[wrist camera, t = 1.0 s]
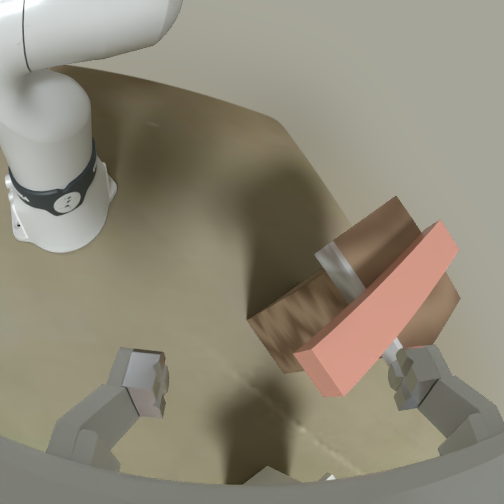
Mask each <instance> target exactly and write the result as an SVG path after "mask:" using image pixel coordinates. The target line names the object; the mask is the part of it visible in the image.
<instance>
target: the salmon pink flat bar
mask: <svg viewBox="0 0 504 504" xmlns="http://www.w3.org/2000/svg"><path fill="white" fill-rule="evenodd" d="M458 250H459V249H458V247H457V246H456V244H455V243H454V241H453V239H452V238H451V236H450V234H449V233H448V231H447V230H446V228H445V226H444V225H443V223H442V221H441V220H439V221H437V222H436V223H434V224H432V225H431V226H429V227H428V228H426V229H425V230H424V231H423V232H422V233H421V234H420V235H419V236H418V237H417V238H416V239H415V240H414V241H413V243H412V244H411V245H410V246H409V247H408V248H407V249H406V250H405V251H404V252H403V253H402V254H401V255H400V256H399V257H398V258H397V259H396V260H395V261H394V262H393V263H392V264H391V265H390V266H389V267H388V268H387V269H386V270H385V271H384V272H383V273H382V274H381V275H380V276H379V277H378V278H377V279H376V280H375V281H374V282H373V283H372V284H371V285H370V286H369V287H368V288H367V289H365V290H364V291H363V292H362V293H361V294H360V295H359V296H358V297H357V298H356V299H355V300H354V301H353V302H352V303H351V304H349V305H348V306H347V307H346V308H345V309H344V310H343V311H342V312H341V313H340V314H338V315H337V316H336V317H335V318H334V319H333V320H332V321H331V322H330V323H328V324H327V325H326V326H325V327H324V328H323V329H322V330H320V331H319V332H318V333H317V334H316V335H315V336H313V337H312V338H311V339H310V340H309V341H308V342H306V343H305V344H304V345H303V346H302V347H300V348H299V349H298V350H297V351H296V352H294V353H293V355H294V356H295V357H296V359H297V360H298V362H299V363H300V365H301V366H302V367H303V369H304V370H305V372H306V373H307V374H308V376H309V377H310V379H311V380H312V381H313V383H314V384H315V386H316V387H317V389H318V390H319V391H320V393H321V394H322V396H323V397H337V396H345V395H346V394H347V393H348V391H349V390H350V389H351V388H352V387H353V386H354V385H355V384H356V383H357V382H358V381H359V380H360V379H361V378H362V377H363V375H364V374H365V373H366V372H367V371H368V370H369V369H370V368H371V367H372V365H373V364H374V363H375V362H376V361H377V360H378V359H379V357H380V356H381V355H382V354H383V353H384V352H385V350H386V349H387V348H388V347H389V346H390V344H391V343H392V342H393V341H394V340H395V338H396V337H397V336H398V335H399V333H400V332H401V331H402V330H403V328H404V327H405V326H406V325H407V323H408V322H409V321H410V320H411V318H412V317H413V316H414V314H415V313H416V312H417V310H418V309H419V308H420V306H421V305H422V304H423V302H424V301H425V300H426V298H427V297H428V295H429V294H430V293H431V291H432V290H433V288H434V287H435V285H436V284H437V283H438V281H439V280H440V278H441V277H442V275H443V274H444V272H445V271H446V269H447V268H448V266H449V265H450V263H451V262H452V260H453V259H454V257H455V256H456V254H457V252H458Z"/></svg>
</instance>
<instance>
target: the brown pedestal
mask: <svg viewBox="0 0 504 504" xmlns="http://www.w3.org/2000/svg"><path fill="white" fill-rule="evenodd" d="M420 234H421V232H420V230H419V228H418V227H417V225H416V224H415V222H414V221H413V219H412V218H411V217H410V215H409V213H408V212H407V210H406V209H405V208H404V206H403V205H402V203H401V202H400V200H399V199H398V198H397V196H395V197H393V198H392V199H391V200H389V201H388V202H387V203H385V204H384V205H382V206H381V207H380V208H378V209H377V210H375V211H374V212H373V213H371V214H370V215H368V216H367V217H366V218H364V219H363V220H361V221H360V222H359V223H357V224H356V225H354V226H353V227H351V228H350V229H349V230H347V231H346V232H344V233H343V234H341V235H340V236H339V237H337V238H336V239H334V240H333V241H331V242H330V243H328V244H327V245H326V246H325V247H323V248H322V249H321V250H319V251H318V252H317V253H315V254H314V255H315V256H316V258H317V259H318V261H319V262H320V264H321V265H322V266H323V268H322V269H320V270H319V271H317V272H316V273H314V274H313V275H311V276H310V277H308V278H307V279H305V280H304V281H302V282H301V283H299V284H298V285H296V286H295V287H294V288H292V289H291V290H289V291H288V292H287V293H285V294H284V295H282V296H281V297H280V298H278V299H277V300H275V301H274V302H273V303H271V304H270V305H268V306H267V307H265V308H264V309H263V310H261V311H260V312H258V313H257V314H255V315H254V316H253V317H251V318H250V319H248V320H247V321H248V323H249V324H250V326H251V327H252V328H253V330H254V331H255V333H256V334H257V336H258V337H259V339H260V340H261V341H262V343H263V344H264V346H265V347H266V349H267V350H268V351H269V353H270V354H271V356H272V357H273V358H274V360H275V361H276V363H277V364H278V366H279V367H280V368H281V370H282V371H283V373H292V372H300V371H305V370H304V369H303V367H302V366H301V365H300V363H299V362H298V360H297V359H296V357H295V356H294V355H293V353H294V352H296V351H297V350H298V349H299V348H300V347H302V346H303V345H304V344H305V343H306V342H308V341H309V340H310V339H311V338H312V337H313V336H315V335H316V334H317V333H318V332H319V331H320V330H322V329H323V328H324V327H325V326H326V325H327V324H328V323H330V322H331V321H332V320H333V319H334V318H335V317H336V316H337V315H338V314H340V313H341V312H342V311H343V310H344V309H345V308H346V307H347V306H348V305H349V304H351V303H352V302H353V301H354V300H355V299H356V298H357V297H358V296H359V295H360V294H361V293H362V292H363V291H364V290H365V289H367V288H368V287H369V286H370V285H371V284H372V283H373V282H374V281H375V280H376V279H377V278H378V277H379V276H380V275H381V274H382V273H383V272H384V271H385V270H386V269H387V268H388V267H389V266H390V265H391V264H392V263H393V262H394V261H395V260H396V259H397V258H398V257H399V256H400V255H401V254H402V253H403V252H404V251H405V250H406V249H407V248H408V247H409V246H410V245H411V244H412V243H413V241H414V240H415V239H416V238H417V237H418V236H419V235H420ZM459 300H460V297H459V295H458V293H457V291H456V289H455V287H454V286H453V284H452V282H451V280H450V278H449V277H448V275H447V273H446V272H444V274H443V275H442V277H441V278H440V280H439V281H438V283H437V284H436V285H435V287H434V288H433V290H432V291H431V293H430V294H429V295H428V297H427V298H426V300H425V301H424V302H423V304H422V305H421V306H420V308H419V309H418V310H417V312H416V313H415V314H414V316H413V317H412V318H411V320H410V321H409V322H408V323H407V325H406V326H405V327H404V328H403V330H402V331H401V332H400V333H399V335H398V336H397V337H396V338H395V340H394V341H393V342H392V343H391V344H390V346H389V347H388V348H387V349H386V350H385V352H384V353H383V354H382V355H381V356H380V357H379V358H384V360H385V362H386V363H387V365H388V366H389V368H390V365H391V363H392V362H394V361H395V360H396V359H397V358H396V353H397V351H398V350H399V349H401V348H408V347H416V346H425V345H433V343H434V342H435V340H436V338H437V337H438V335H439V334H440V332H441V331H442V329H443V327H444V325H445V324H446V322H447V321H448V319H449V317H450V316H451V314H452V312H453V311H454V309H455V307H456V305H457V304H458V302H459Z"/></svg>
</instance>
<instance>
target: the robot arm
mask: <svg viewBox="0 0 504 504" xmlns="http://www.w3.org/2000/svg"><path fill="white" fill-rule="evenodd" d="M182 1H183V0H0V147H1V149H2V151H3V153H4V156H5V158H6V160H7V162H8V165H9V174H7V175H5V182H6V186H7V188H8V189H10V192H9V193H8V196H9V200H10V201H11V213H12V225H13V233H14V236H15V238H16V239H17V240H19V241H25V242H32V243H34V244H36V245H38V246H39V247H41V248H43V249H45V250H48V251H51V252H69V251H73V250H76V249H79V248H81V247H83V246H84V245H86V244H88V243H89V242H90V241H91V240H93V239H94V238H95V237H96V235H97V234H98V233H99V232H100V230H101V229H102V227H103V225H104V223H105V221H106V217H107V213H108V207H109V204H110V202H111V200H112V199H113V198H114V196H115V194H116V193H117V185H116V183H115V182H114V181H113V179H112V178H111V177H110V176H109V175H108V173H107V168H106V164H105V163H104V162H102V161H101V160H100V158H99V157H98V156H97V149H96V146H95V141H94V138H93V136H92V128H91V103H90V100H89V97H88V95H87V93H86V92H85V90H84V89H83V88H82V87H81V85H80V84H79V83H78V82H77V81H75V80H74V79H73V78H71V77H69V76H67V75H65V74H62V73H59V72H55V71H52V70H48V69H46V68H49V67H55V66H60V65H65V64H71V63H77V62H84V61H91V60H99V59H105V58H109V57H112V56H116V55H120V54H123V53H127V52H131V51H135V50H139V49H142V48H146V47H150V46H153V45H155V44H156V43H157V42H158V41H160V40H161V38H162V37H163V36H164V35H165V34H166V33H167V32H168V31H169V29H170V28H171V27H172V25H173V24H174V22H175V20H176V18H177V16H178V14H179V12H180V9H181V6H182ZM19 224H20V227H18V225H19ZM396 358H397V359H396V360H395V361H394V362H392V363H391V365H390V368H389V371H388V380H389V384H390V387H391V388H392V389H394V390H395V391H396V392H395V395H394V399H395V401H396V404H397V407H398V410H399V411H401V410H408V409H414V408H418V410H419V411H420V412H421V413H422V414H423V415H424V416H425V417H426V418H427V419H428V420H429V421H430V422H431V423H432V424H433V425H434V426H435V427H436V428H437V429H438V430H439V431H440V432H441V433H442V434H443V435H444V436H445V437H446V438H447V439H446V440H445V441H444V442H443V443H442V444H441V445H440V446H439V448H438V451H439V454H440V456H439V457H436V458H432V459H429V460H425V461H422V462H418V463H415V464H411V465H407V466H403V467H399V468H394V469H390V470H385V471H381V472H376V473H371V474H365V475H359V476H353V477H347V478H340V479H333V480H325V481H315V482H305V483H292V484H271V485H225V484H205V483H192V482H181V481H172V480H164V479H157V478H150V477H143V476H137V475H132V474H126V473H121V472H119V470H120V462H119V461H118V460H117V458H116V457H115V456H114V455H113V454H112V452H111V451H110V450H111V449H112V447H113V446H114V445H115V444H116V443H117V442H118V441H119V440H120V439H121V438H122V437H123V435H124V434H125V433H126V432H127V431H128V430H129V429H130V428H131V427H132V425H133V424H134V423H135V422H136V421H137V420H138V419H139V416H140V417H150V418H161V419H163V415H164V410H165V404H166V402H165V399H164V395H165V394H166V393H167V392H168V387H169V371H168V367H167V366H166V365H165V359H166V358H165V355H164V352H160V351H150V350H142V349H133V348H124V347H121V348H120V349H119V350H118V352H117V355H116V358H115V360H114V363H113V366H112V369H111V372H110V375H109V378H108V381H107V384H102V385H101V386H99V387H98V388H97V389H96V390H94V391H93V392H92V393H91V394H90V395H88V396H87V397H86V398H85V399H83V400H82V401H81V402H80V403H78V404H77V405H76V406H75V407H73V408H72V409H71V410H70V411H68V412H67V413H66V414H65V415H63V416H62V417H61V418H60V419H59V420H57V421H56V424H55V427H54V430H53V433H52V436H51V439H50V442H49V445H48V448H47V451H46V452H43V451H40V450H37V449H34V448H32V447H29V446H26V445H24V444H21V443H18V442H16V441H13V440H11V439H8V438H6V437H4V436H1V435H0V504H504V422H503V419H502V417H501V415H500V413H499V411H498V409H497V407H496V405H495V404H493V403H492V402H491V401H489V400H488V399H487V398H485V397H484V396H483V395H481V394H480V393H479V392H477V391H476V390H474V389H473V388H472V387H470V386H469V385H468V384H466V383H465V382H463V381H462V380H461V379H459V378H458V377H457V376H452V374H451V372H450V370H449V368H448V366H447V364H446V362H445V360H444V358H443V356H442V354H441V352H440V350H439V348H438V347H437V346H436V345H434V344H433V345H425V346H416V347H408V348H401V349H399V350H398V351H397V353H396Z"/></svg>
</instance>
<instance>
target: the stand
mask: <svg viewBox="0 0 504 504" xmlns="http://www.w3.org/2000/svg"><path fill="white" fill-rule="evenodd" d="M333 479H335V477H334V476H333V475H332V474H330V473H326V474H325V475H324V476H323V477H322V478H321V479H320V480H319V481H325V480H333ZM292 483H302V482H300V481H298V480H296V479H294V478H291V477H289V476H287V475H285V474H283V473H281V472H279V471H277V470H275V469H273V468H271V467H269V466H266V467H265V468H263V469H262V470H261V471H260V472H258V473H257V474H256V475H255V476H253V477H252V478H251V479H249V480H248V481H247V482H245V483H244V484H243V485H271V484H292Z"/></svg>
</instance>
